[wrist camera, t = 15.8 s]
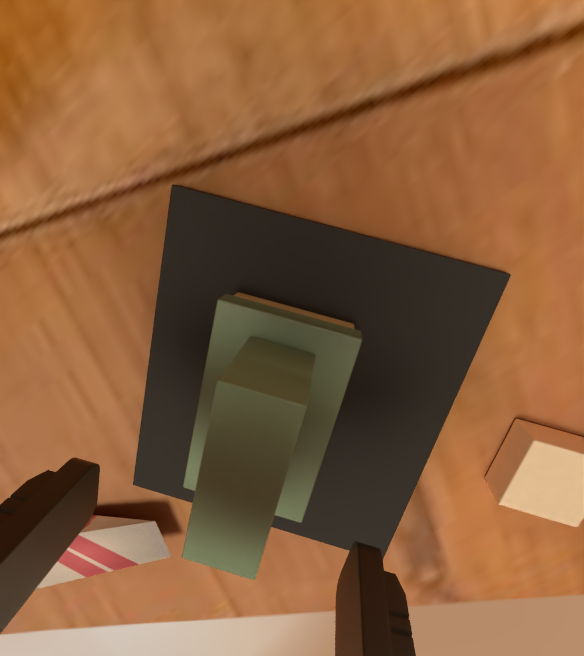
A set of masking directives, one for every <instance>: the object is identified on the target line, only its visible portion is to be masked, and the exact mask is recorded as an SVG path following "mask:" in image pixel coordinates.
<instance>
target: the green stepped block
mask: <svg viewBox="0 0 584 656" xmlns="http://www.w3.org/2000/svg"><path fill="white" fill-rule="evenodd" d="M361 343H362V335H361V331H360V330H356V329H355V327H354V324H353V323H349V322H345V321H342V320H338V319H334V318H331V317H327V316H323V315H320V314H316V313H313V312H309V311H305V310H302V309H298V308H294V307H291V306H287V305H284V304H280V303H276V302H273V301H269V300H265V299H262V298H258V297H254V296H251V295H247V294H244V293H240V292H237V293H236V294H235V295H234V296H233V295H229V294H225V295H223V296H222V297H221V298H219V299H218V300H217V306H216V311H215V317H214V322H213V327H212V333H211V338H210V344H209V349H208V354H207V360H206V365H205V371H204V376H203V381H202V387H201V392H200V398H199V403H198V408H197V414H196V419H195V425H194V430H193V435H192V441H191V446H190V452H189V457H188V462H187V468H186V473H185V479H184V484H183V487H184V488H187V489H190V490H194V491H195V494H194V499H193V504H192V509H191V514H190V519H189V524H188V529H187V534H186V539H185V544H184V549H183V554H182V558H184V559H187V560H190V561H194V562H197V563H200V564H203V565H206V566H210V567H213V568H216V569H219V570H223V571H226V572H229V573H232V574H235V575H239V576H242V577H245V578H248V579H252V580H255V578H256V575H257V572H258V569H259V565H260V562H261V559H262V555H263V552H264V549H265V545H266V542H267V539H268V535H269V532H270V529H271V525H272V522H273V518H274V515H277V516H280V517H283V518H287V519H290V520H293V521H297V522H302V520H303V517H304V514H305V511H306V508H307V505H308V502H309V499H310V496H311V493H312V490H313V487H314V484H315V481H316V478H317V475H318V472H319V469H320V466H321V463H322V460H323V457H324V454H325V451H326V448H327V445H328V442H329V439H330V436H331V433H332V430H333V427H334V424H335V421H336V418H337V415H338V412H339V409H340V406H341V403H342V400H343V397H344V394H345V391H346V388H347V385H348V382H349V379H350V376H351V373H352V370H353V367H354V364H355V361H356V358H357V355H358V352H359V349H360V346H361Z"/></svg>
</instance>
